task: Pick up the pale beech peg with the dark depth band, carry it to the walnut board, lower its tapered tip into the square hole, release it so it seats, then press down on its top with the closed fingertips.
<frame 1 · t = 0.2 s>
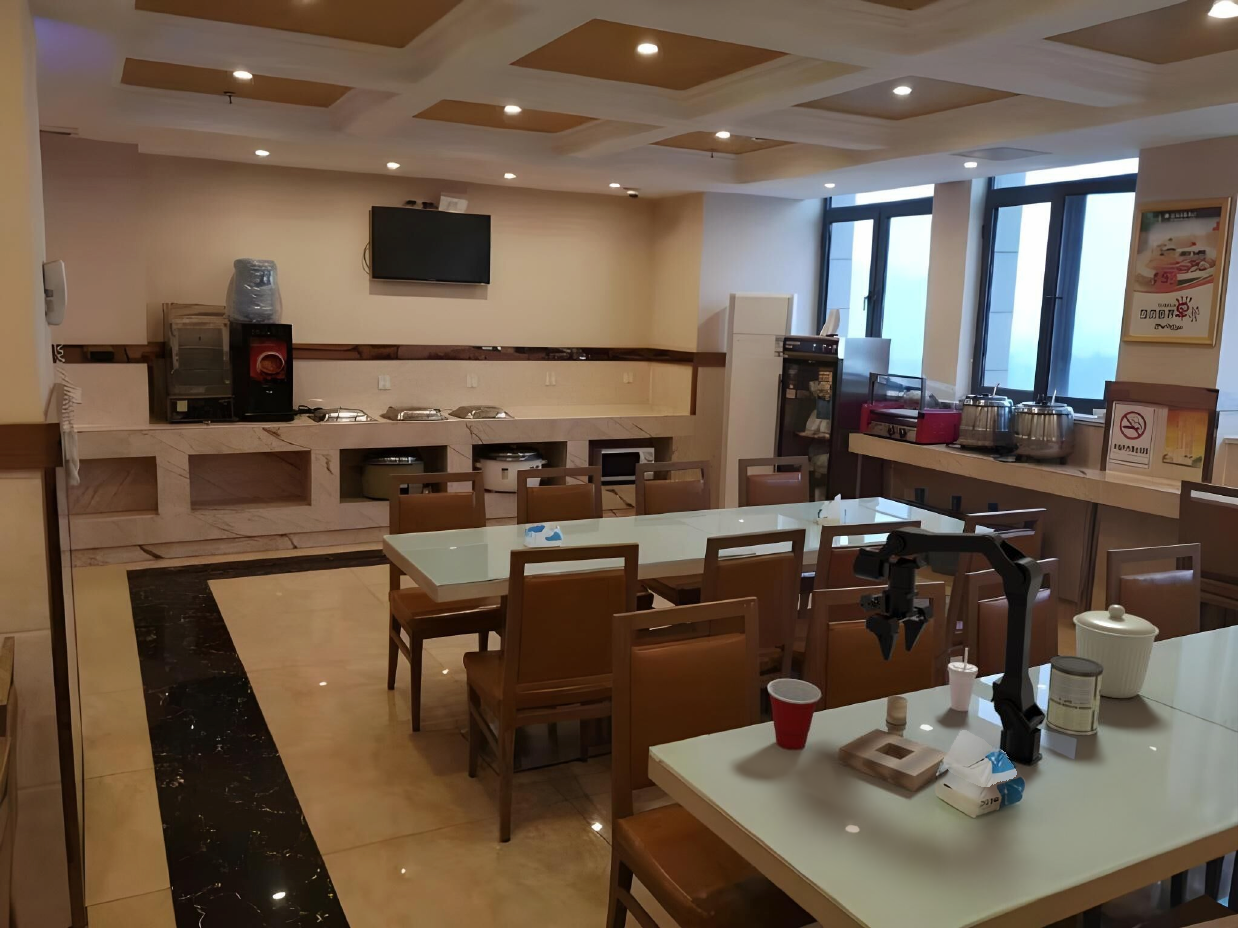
hand: (897, 655, 209), 14 cm above the table, fingers open, 9 cm apart
smoothie: (959, 708, 217), on the table
canister: (1108, 691, 230), on the table
coffee can: (1071, 726, 208), on the table
peg: (895, 735, 201), on the table
plastic cup: (791, 745, 195), on the table
board: (893, 765, 187), on the table
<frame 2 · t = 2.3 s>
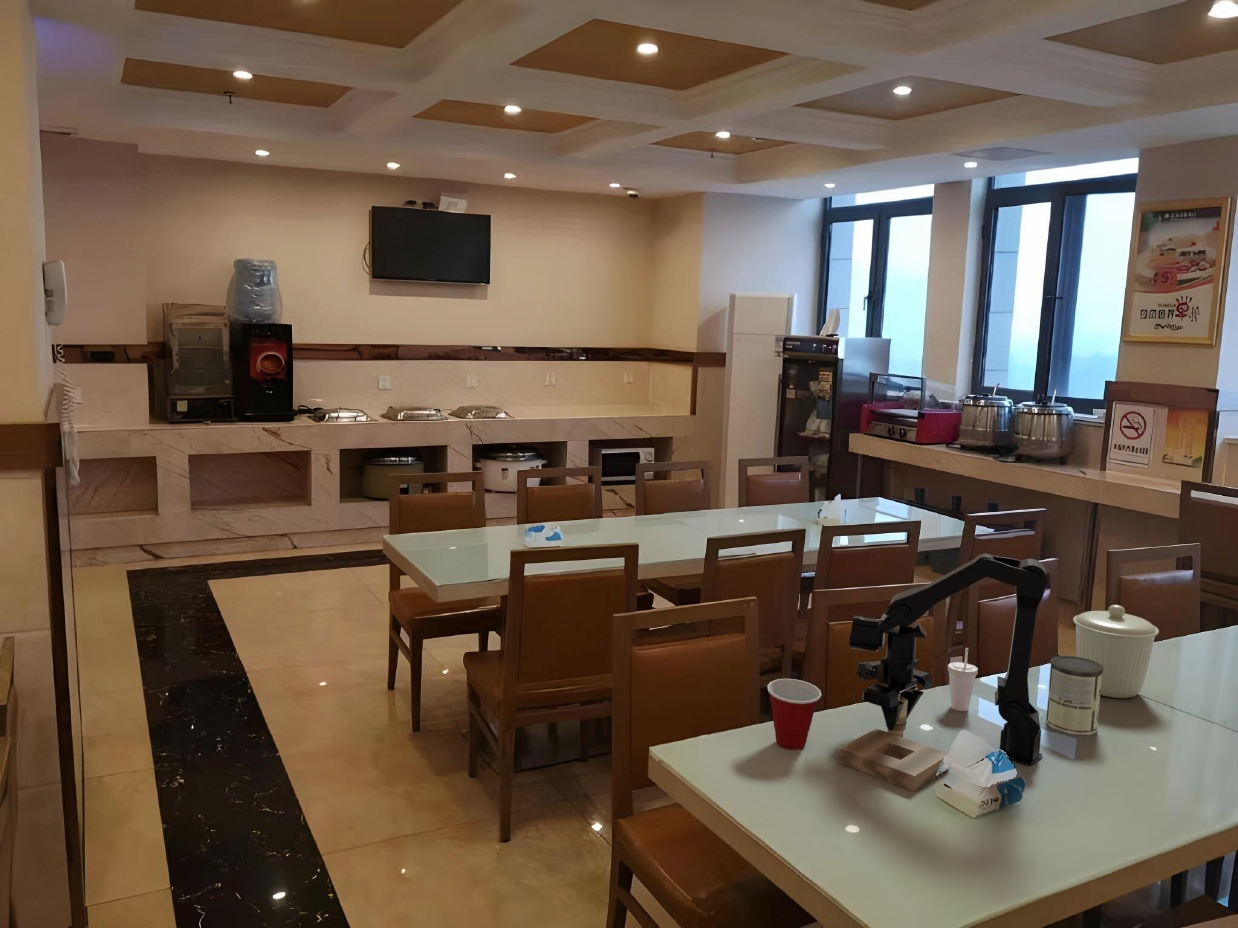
hand: (895, 726, 200), 2 cm above the table, fingers closed on peg, 4 cm apart
peg: (895, 735, 201), on the table, touching gripper
everything else where it was.
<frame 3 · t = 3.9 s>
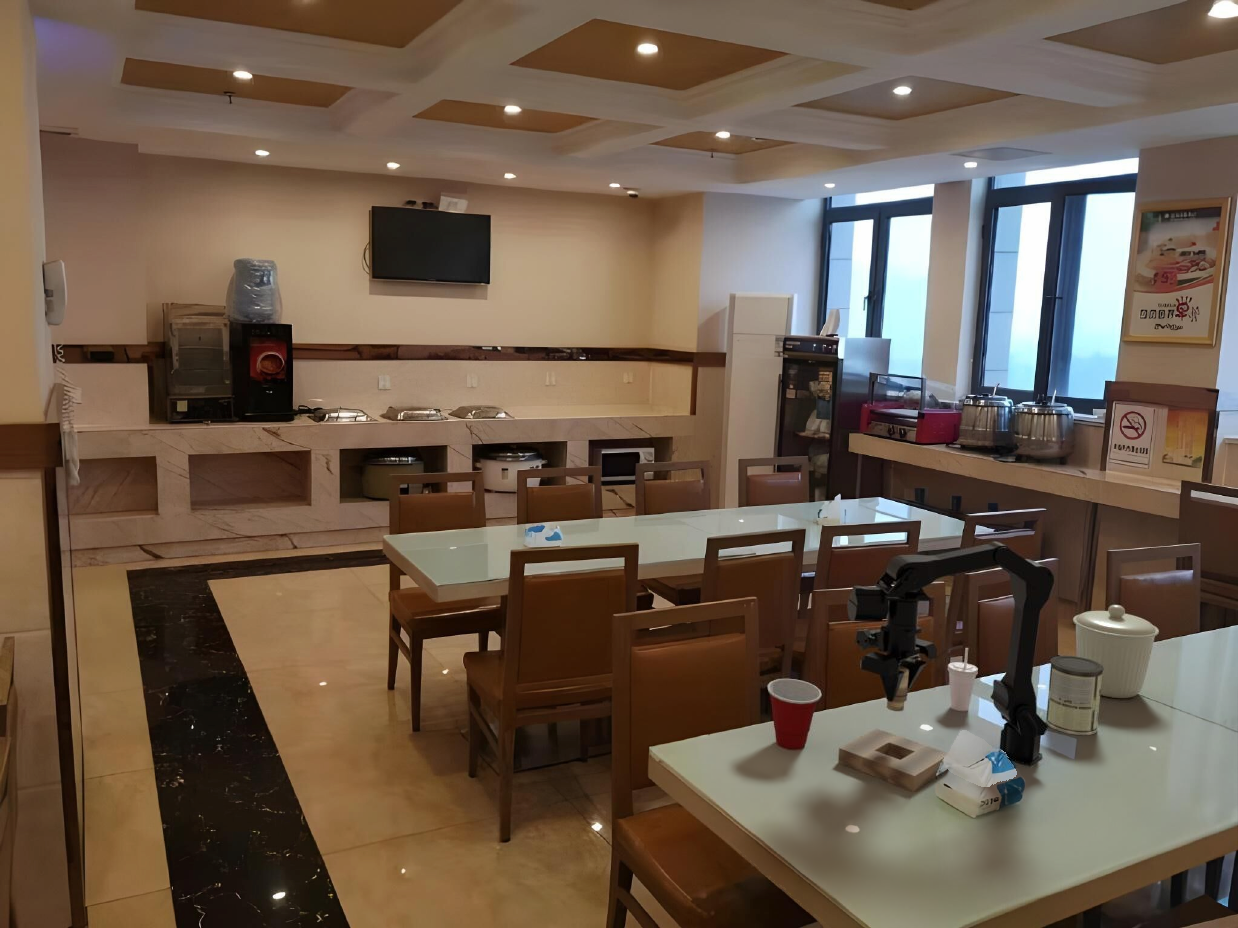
hand: (896, 698, 189), 12 cm above the table, fingers closed on peg, 4 cm apart
peg: (895, 707, 189), point 10 cm above the table, touching gripper
everything else where it was.
when the fingers open (4 cm above the table, at t = 5.7 s): peg drops 2 cm, resting in board.
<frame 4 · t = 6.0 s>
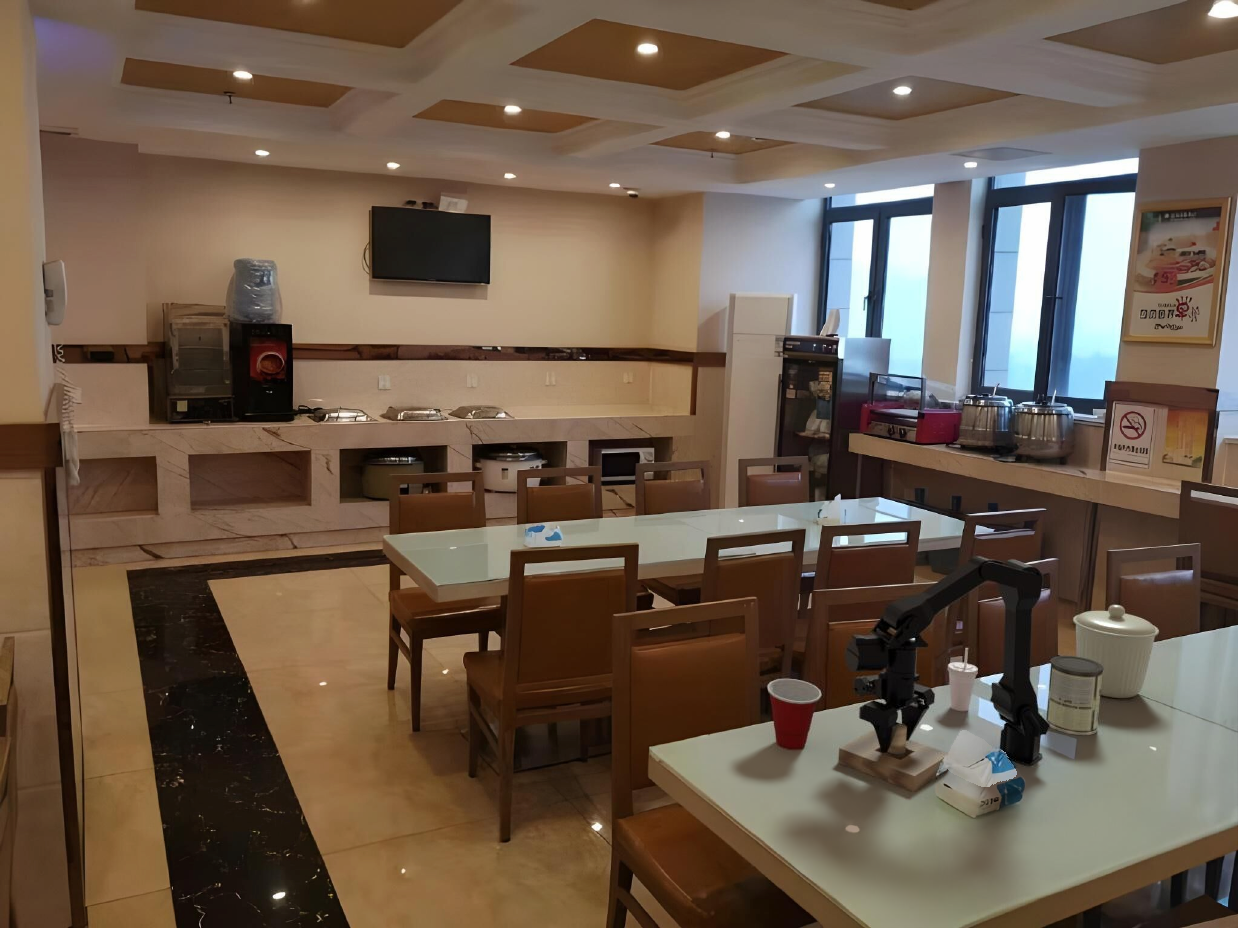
hand: (895, 745, 186), 4 cm above the table, fingers open, 8 cm apart
peg: (893, 765, 187), resting in board
everything else where it was.
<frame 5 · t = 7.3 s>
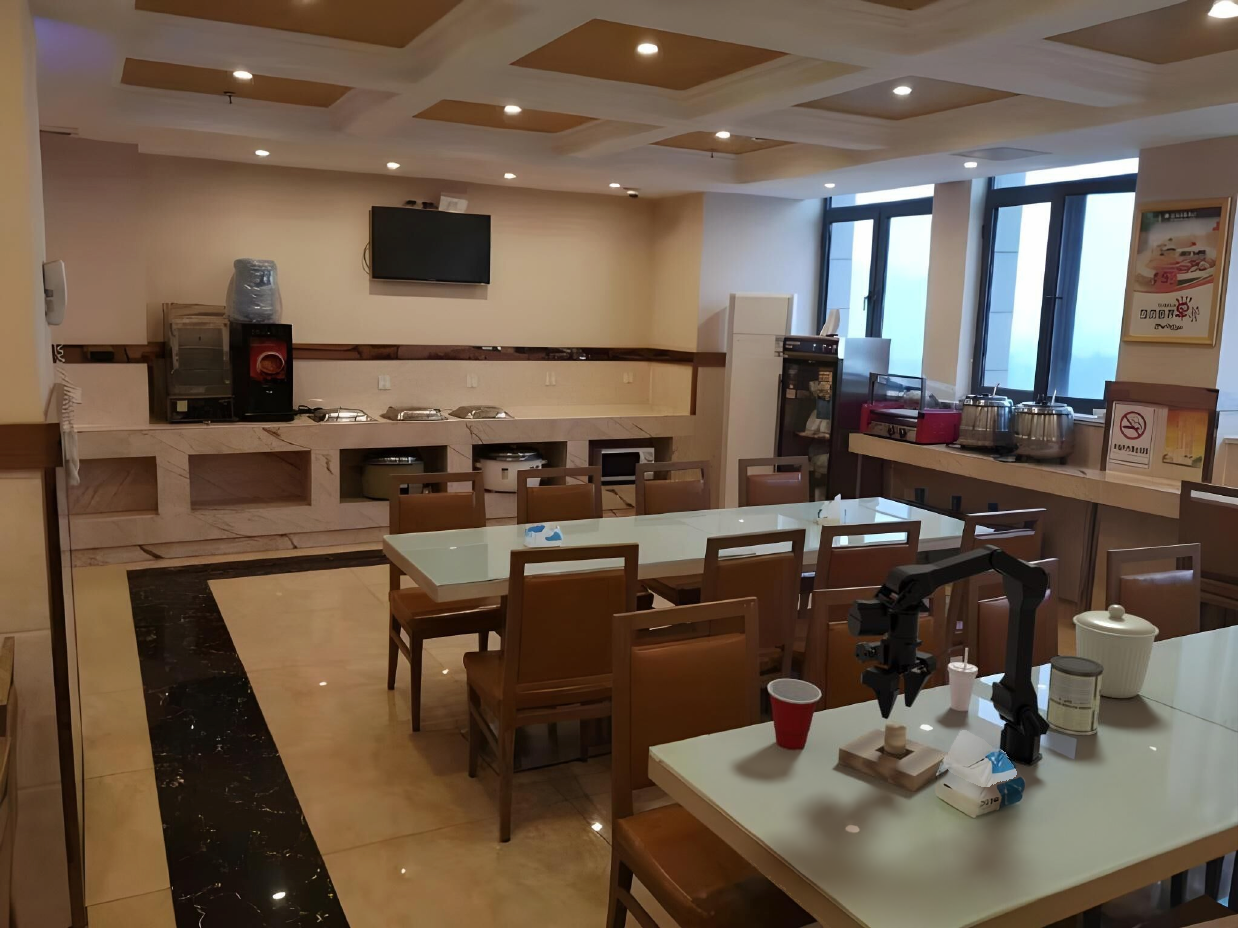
hand: (896, 712, 185), 11 cm above the table, fingers open, 8 cm apart
nothing on the table moved.
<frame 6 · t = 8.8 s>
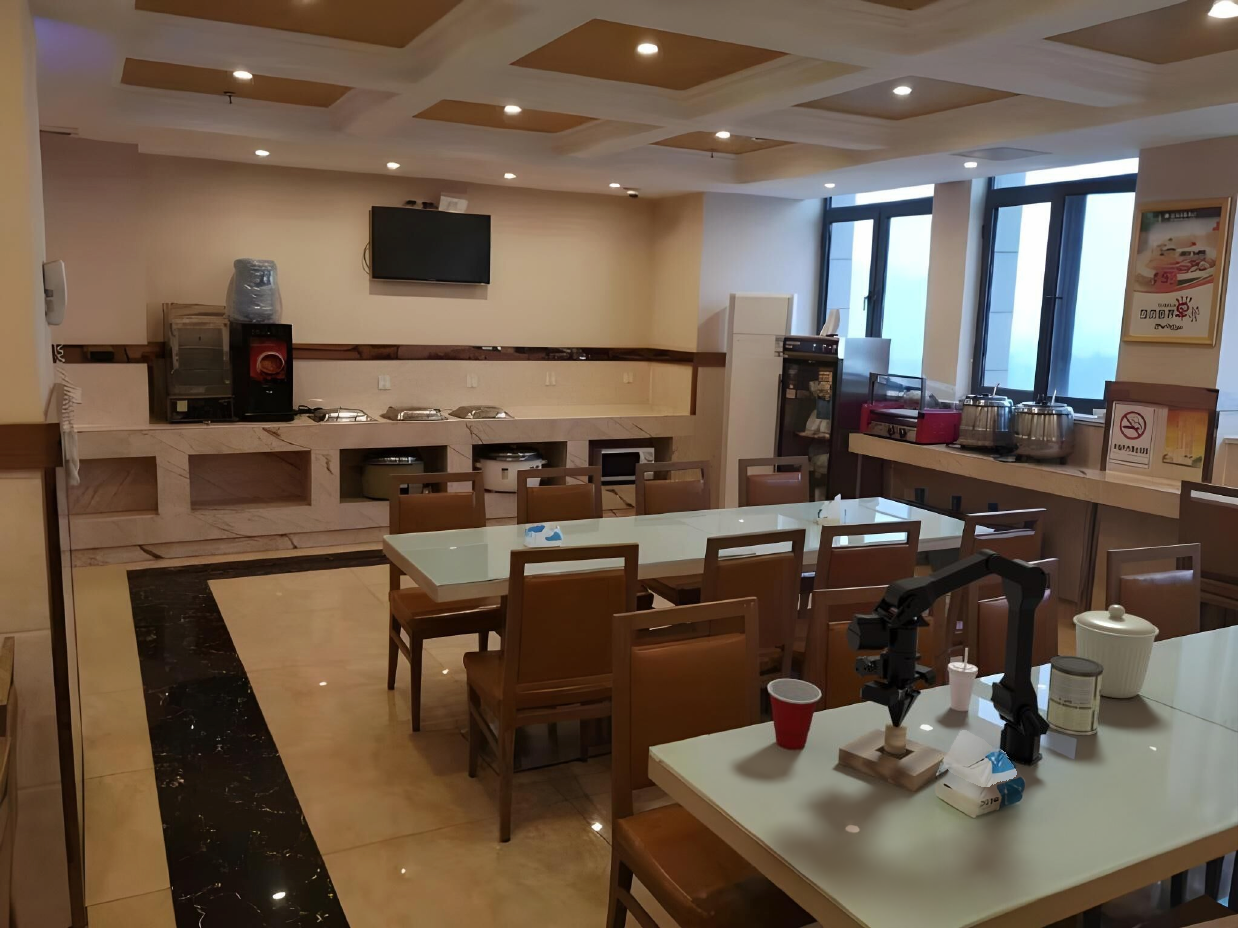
hand: (896, 726, 185), 8 cm above the table, fingers closed
nothing on the table moved.
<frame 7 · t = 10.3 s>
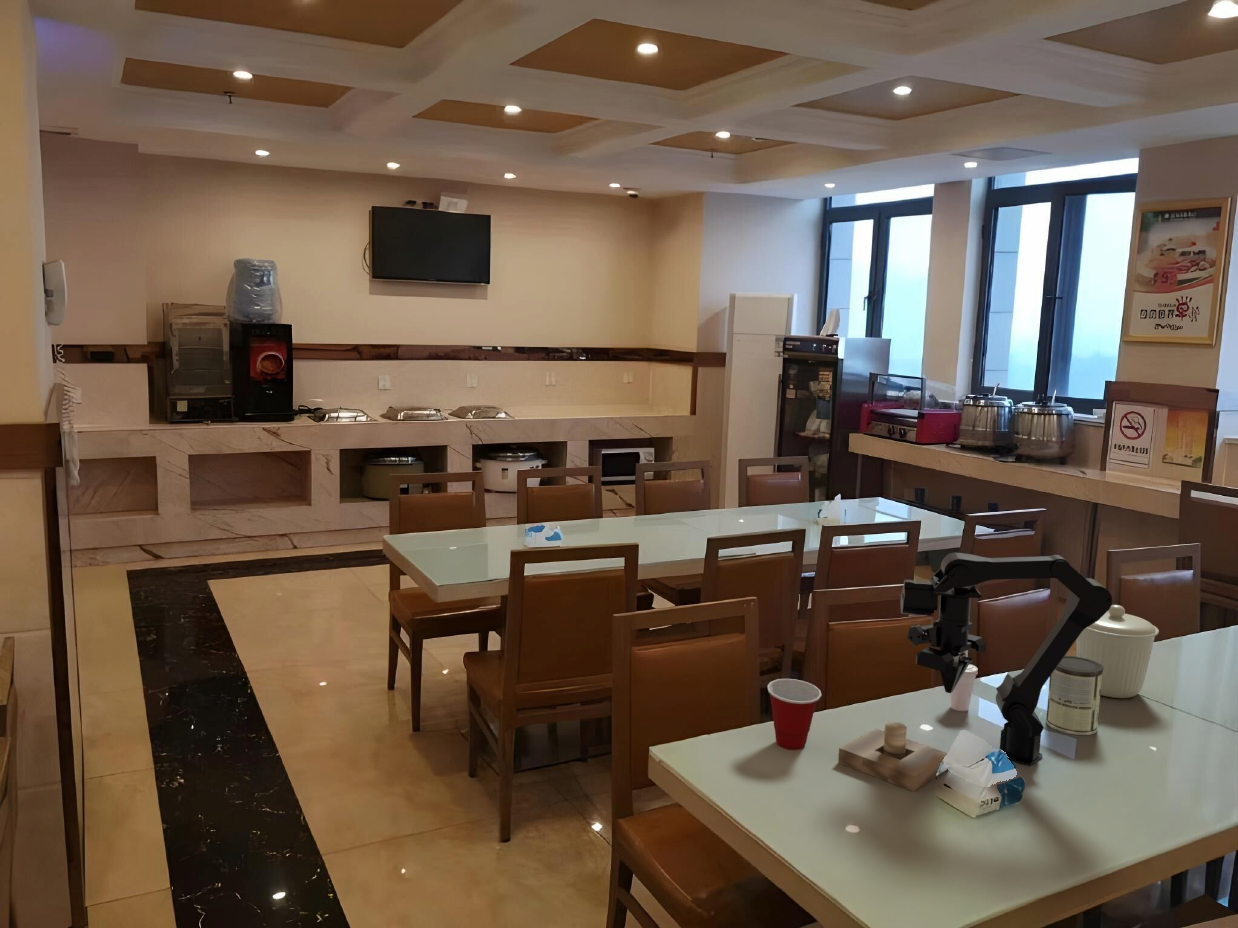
hand: (948, 692, 193), 12 cm above the table, fingers closed
nothing on the table moved.
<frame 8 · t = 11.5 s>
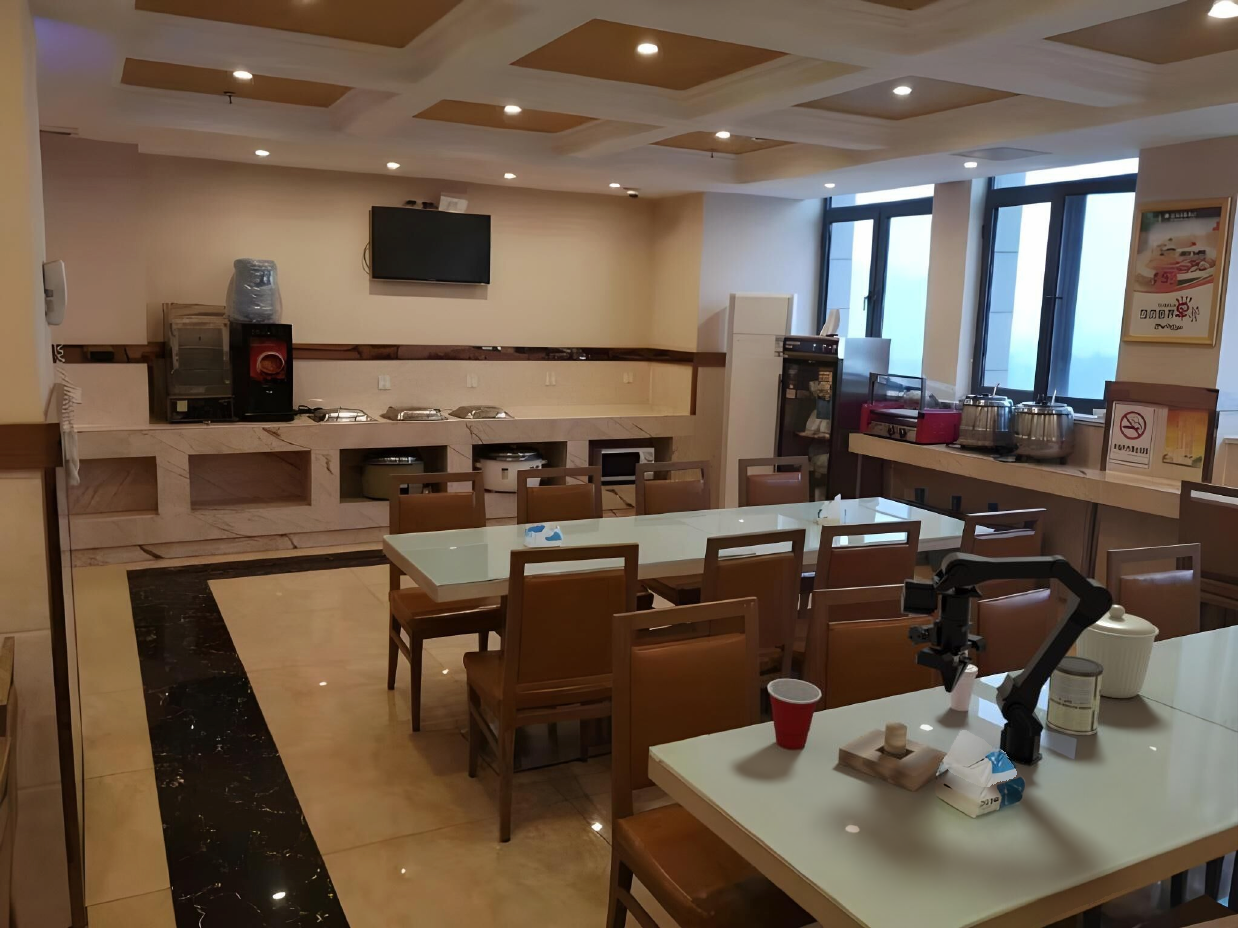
hand: (948, 691, 193), 12 cm above the table, fingers closed
nothing on the table moved.
at the end: peg 0.1 cm off-centre on the board, point 0.0 cm above the board's base; peg tilted 1°; the gripper is holding nothing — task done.
